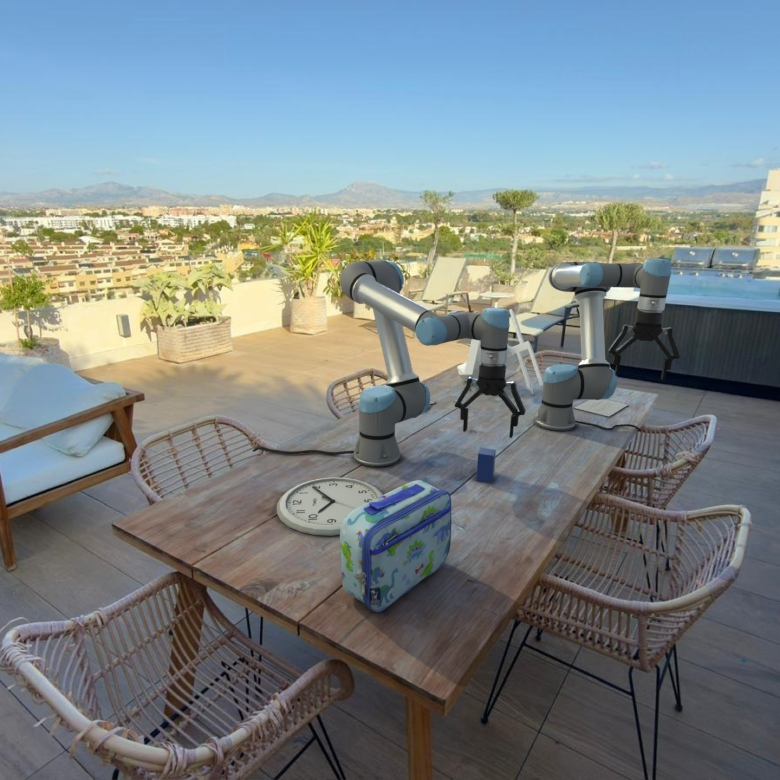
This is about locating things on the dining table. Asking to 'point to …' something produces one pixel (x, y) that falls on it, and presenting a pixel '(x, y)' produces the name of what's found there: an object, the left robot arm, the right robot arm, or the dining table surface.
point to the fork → (432, 401)
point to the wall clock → (323, 504)
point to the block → (485, 465)
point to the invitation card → (601, 407)
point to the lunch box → (394, 543)
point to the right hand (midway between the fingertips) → (639, 377)
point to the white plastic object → (512, 355)
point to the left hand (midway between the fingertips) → (487, 433)
